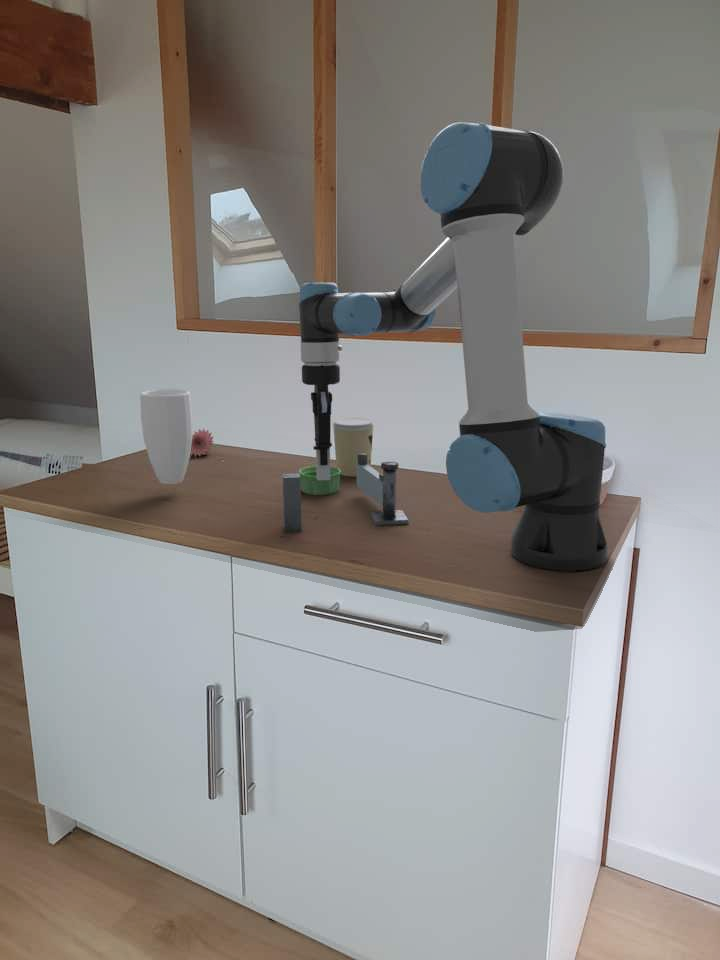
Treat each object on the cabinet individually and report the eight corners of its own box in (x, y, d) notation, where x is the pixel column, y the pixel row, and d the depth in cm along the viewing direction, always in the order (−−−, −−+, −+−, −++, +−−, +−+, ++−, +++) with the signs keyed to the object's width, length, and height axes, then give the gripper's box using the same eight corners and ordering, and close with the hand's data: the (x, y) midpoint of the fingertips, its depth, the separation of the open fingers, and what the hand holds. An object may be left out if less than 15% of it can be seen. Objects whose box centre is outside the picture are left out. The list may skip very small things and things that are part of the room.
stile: (301, 531, 133) (300, 477, 130) (284, 532, 132) (283, 477, 130) (300, 525, 136) (299, 472, 133) (283, 526, 135) (282, 473, 133)
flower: (207, 428, 194) (196, 419, 189) (226, 444, 190) (215, 435, 186) (187, 451, 194) (176, 443, 189) (206, 468, 190) (195, 460, 185)
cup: (159, 505, 148) (151, 398, 142) (138, 493, 156) (129, 391, 150) (206, 495, 154) (200, 392, 149) (183, 485, 162) (177, 387, 157)
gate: (391, 506, 140) (391, 470, 138) (381, 507, 139) (381, 471, 138) (364, 485, 155) (364, 452, 153) (355, 485, 154) (355, 453, 152)
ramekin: (290, 490, 158) (289, 470, 157) (321, 482, 165) (321, 463, 163) (318, 499, 152) (318, 478, 151) (349, 490, 159) (349, 470, 157)
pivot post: (408, 523, 136) (409, 467, 134) (376, 525, 136) (376, 468, 133) (401, 514, 142) (402, 459, 139) (371, 515, 141) (371, 460, 138)
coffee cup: (379, 475, 170) (380, 423, 167) (341, 479, 167) (341, 426, 164) (364, 465, 179) (364, 416, 176) (327, 469, 175) (327, 419, 172)
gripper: (343, 366, 140) (345, 486, 146) (335, 360, 153) (338, 471, 159) (303, 367, 139) (307, 488, 145) (299, 361, 152) (303, 472, 158)
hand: (323, 479), depth 152 cm, fingers closed
